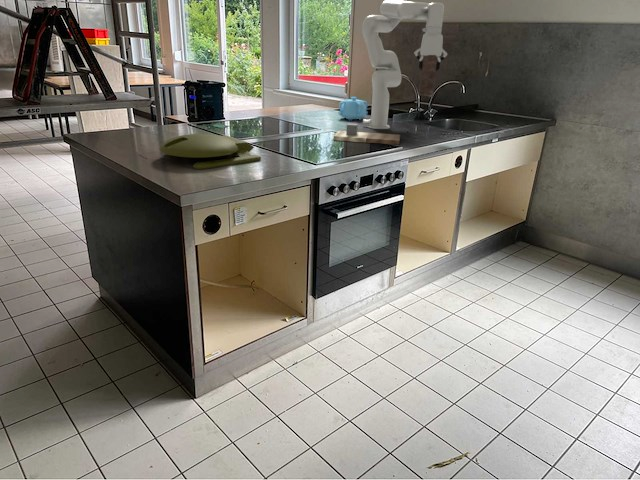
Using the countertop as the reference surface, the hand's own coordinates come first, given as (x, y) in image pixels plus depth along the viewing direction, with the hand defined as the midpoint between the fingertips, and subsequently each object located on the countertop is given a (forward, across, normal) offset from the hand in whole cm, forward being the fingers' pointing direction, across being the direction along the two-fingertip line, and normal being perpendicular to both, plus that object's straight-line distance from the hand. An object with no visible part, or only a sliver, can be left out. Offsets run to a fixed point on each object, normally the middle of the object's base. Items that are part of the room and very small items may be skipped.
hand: (428, 70), depth 240 cm
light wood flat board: (+34, -27, -14) cm, 45 cm away
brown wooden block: (+13, 0, 0) cm, 13 cm away
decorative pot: (+34, -42, +50) cm, 73 cm away
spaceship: (+34, -86, -78) cm, 121 cm away
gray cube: (+32, -35, -14) cm, 49 cm away
